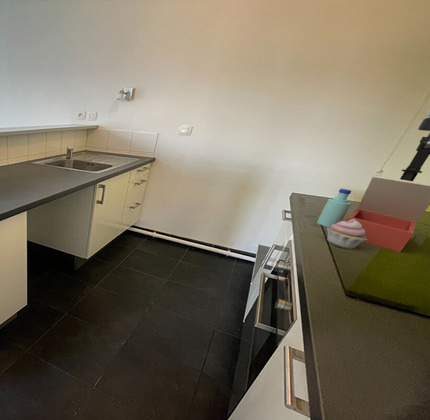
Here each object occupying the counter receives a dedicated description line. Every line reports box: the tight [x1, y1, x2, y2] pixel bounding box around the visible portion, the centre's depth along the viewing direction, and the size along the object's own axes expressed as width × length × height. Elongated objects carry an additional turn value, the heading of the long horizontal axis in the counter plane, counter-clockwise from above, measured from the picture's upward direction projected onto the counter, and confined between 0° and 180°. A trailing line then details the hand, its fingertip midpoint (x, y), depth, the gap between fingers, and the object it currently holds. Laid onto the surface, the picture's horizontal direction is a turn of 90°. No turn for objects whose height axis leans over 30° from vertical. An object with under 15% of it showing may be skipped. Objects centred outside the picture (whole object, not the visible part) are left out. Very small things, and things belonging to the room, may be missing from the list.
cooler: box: [346, 208, 417, 253], centre depth 88 cm, size 18×14×8 cm
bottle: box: [316, 188, 352, 228], centre depth 96 cm, size 6×6×16 cm
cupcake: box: [326, 219, 367, 251], centre depth 82 cm, size 9×9×10 cm
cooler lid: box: [357, 174, 430, 223], centre depth 85 cm, size 19×14×1 cm
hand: (399, 190), depth 84 cm, fingers closed
